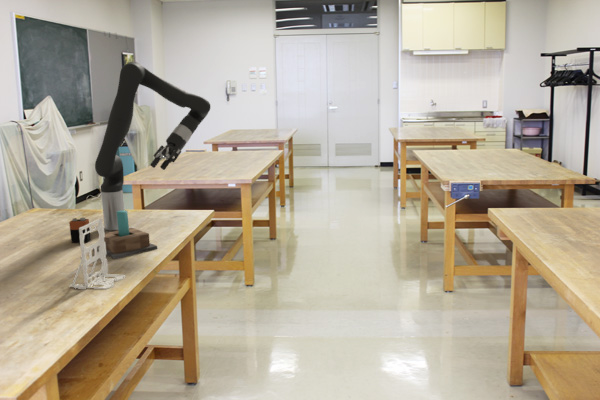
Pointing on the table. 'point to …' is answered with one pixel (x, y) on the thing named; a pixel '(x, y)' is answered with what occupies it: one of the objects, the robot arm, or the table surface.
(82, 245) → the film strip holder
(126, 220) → the peg
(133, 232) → the socket block
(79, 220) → the battery
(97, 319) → the table surface
